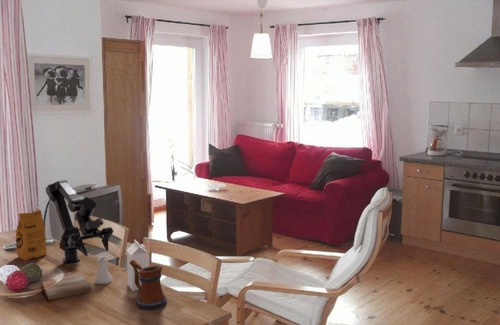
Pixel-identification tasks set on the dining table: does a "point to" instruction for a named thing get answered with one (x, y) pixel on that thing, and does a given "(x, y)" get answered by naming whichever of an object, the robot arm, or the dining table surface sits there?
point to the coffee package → (30, 235)
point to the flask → (102, 273)
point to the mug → (149, 286)
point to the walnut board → (69, 287)
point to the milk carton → (140, 257)
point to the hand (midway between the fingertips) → (97, 253)
